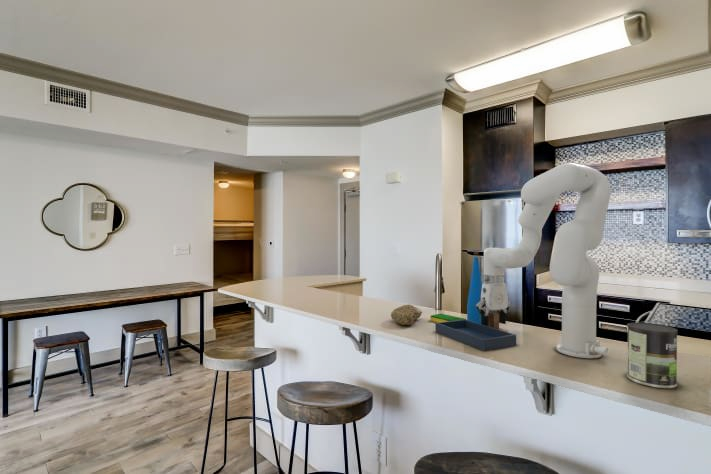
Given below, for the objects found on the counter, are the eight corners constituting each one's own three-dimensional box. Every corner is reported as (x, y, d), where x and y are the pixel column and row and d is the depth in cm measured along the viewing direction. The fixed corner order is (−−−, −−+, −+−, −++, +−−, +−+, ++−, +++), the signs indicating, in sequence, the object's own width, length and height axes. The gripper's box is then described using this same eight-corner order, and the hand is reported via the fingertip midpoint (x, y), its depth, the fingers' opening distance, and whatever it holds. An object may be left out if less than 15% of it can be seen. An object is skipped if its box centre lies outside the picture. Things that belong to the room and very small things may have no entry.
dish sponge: (456, 327, 153) (456, 321, 153) (429, 320, 164) (429, 315, 164) (466, 324, 158) (466, 318, 158) (440, 318, 168) (440, 313, 168)
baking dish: (516, 345, 129) (516, 334, 129) (484, 351, 122) (484, 340, 122) (464, 328, 152) (464, 319, 152) (435, 332, 145) (435, 322, 145)
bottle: (484, 324, 158) (485, 252, 157) (466, 323, 160) (467, 251, 160) (485, 320, 164) (485, 251, 164) (467, 319, 167) (468, 251, 167)
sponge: (402, 319, 173) (378, 317, 157) (406, 302, 173) (383, 299, 157) (427, 328, 165) (405, 328, 149) (431, 311, 165) (410, 309, 149)
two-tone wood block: (507, 334, 142) (507, 314, 142) (497, 335, 140) (497, 315, 140) (489, 328, 150) (489, 310, 150) (480, 330, 148) (480, 311, 148)
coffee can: (682, 382, 97) (683, 327, 96) (669, 392, 91) (670, 334, 90) (634, 370, 105) (635, 320, 105) (620, 378, 99) (620, 325, 99)
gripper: (484, 282, 138) (483, 329, 138) (518, 279, 145) (517, 324, 146) (469, 279, 145) (469, 324, 145) (502, 277, 152) (502, 320, 152)
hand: (493, 324), depth 145 cm, fingers open, 8 cm apart
